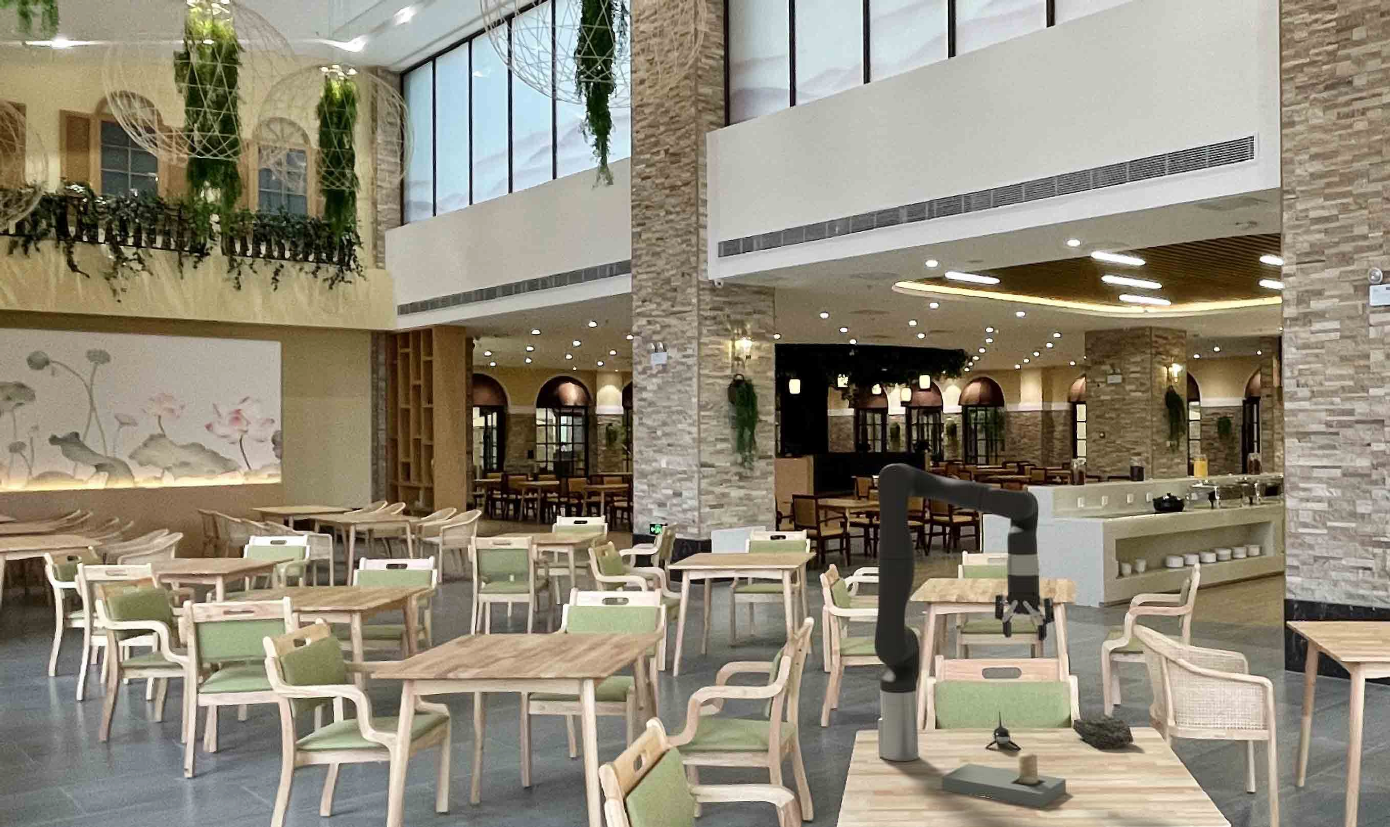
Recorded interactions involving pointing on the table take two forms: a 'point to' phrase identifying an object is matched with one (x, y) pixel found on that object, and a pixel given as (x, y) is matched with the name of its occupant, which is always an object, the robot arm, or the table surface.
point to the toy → (1001, 735)
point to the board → (1003, 785)
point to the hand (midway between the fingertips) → (1024, 638)
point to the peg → (1028, 770)
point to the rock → (1103, 731)
